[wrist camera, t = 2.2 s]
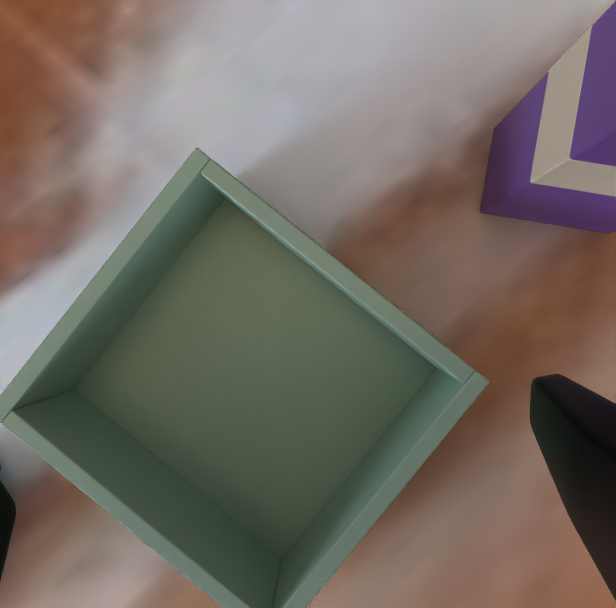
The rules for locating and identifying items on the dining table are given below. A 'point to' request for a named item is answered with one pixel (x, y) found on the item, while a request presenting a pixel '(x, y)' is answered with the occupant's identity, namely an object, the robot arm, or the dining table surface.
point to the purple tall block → (562, 141)
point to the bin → (237, 394)
